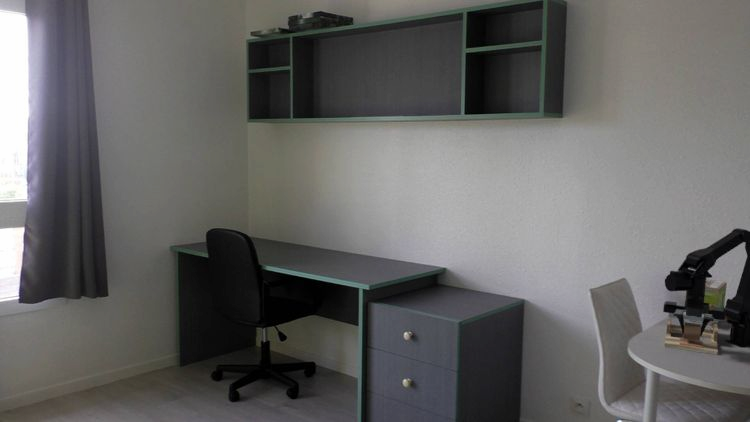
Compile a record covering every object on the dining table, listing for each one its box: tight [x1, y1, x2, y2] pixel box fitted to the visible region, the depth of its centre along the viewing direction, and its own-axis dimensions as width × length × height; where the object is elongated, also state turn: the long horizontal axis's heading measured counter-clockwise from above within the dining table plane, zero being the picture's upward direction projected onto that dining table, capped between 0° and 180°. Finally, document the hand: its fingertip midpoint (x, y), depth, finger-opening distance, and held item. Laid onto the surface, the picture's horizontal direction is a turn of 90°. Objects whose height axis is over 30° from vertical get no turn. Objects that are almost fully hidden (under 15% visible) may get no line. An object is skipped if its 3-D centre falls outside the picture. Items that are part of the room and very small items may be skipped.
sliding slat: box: [667, 312, 719, 325], centre depth 236 cm, size 5×16×2 cm, turn 63°
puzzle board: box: [664, 317, 719, 356], centre depth 227 cm, size 26×16×5 cm, turn 153°
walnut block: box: [682, 321, 702, 341], centre depth 219 cm, size 5×5×4 cm
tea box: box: [690, 278, 727, 325], centre depth 253 cm, size 15×10×15 cm, turn 143°
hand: (691, 334), depth 219 cm, fingers closed on walnut block, 5 cm apart
